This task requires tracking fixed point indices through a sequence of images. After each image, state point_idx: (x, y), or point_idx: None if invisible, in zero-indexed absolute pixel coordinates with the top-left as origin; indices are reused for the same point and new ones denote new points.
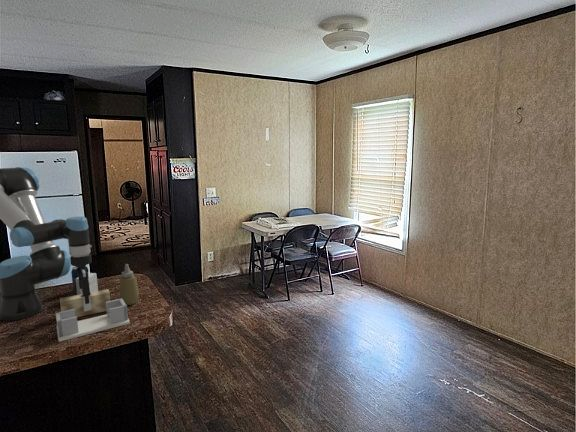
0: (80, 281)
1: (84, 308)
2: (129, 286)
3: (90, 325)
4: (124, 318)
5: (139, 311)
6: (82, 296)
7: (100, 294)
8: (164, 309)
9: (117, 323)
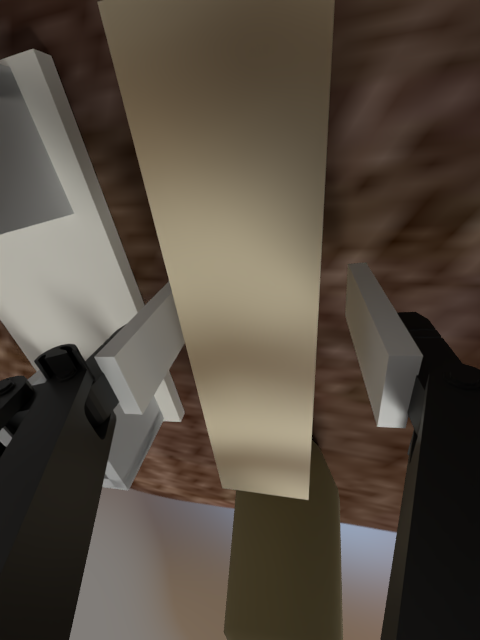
0: (405, 555)
1: (164, 291)
2: (229, 568)
3: (36, 289)
4: None
5: (174, 448)
6: (55, 363)
7: (212, 447)
8: (163, 491)
9: None
